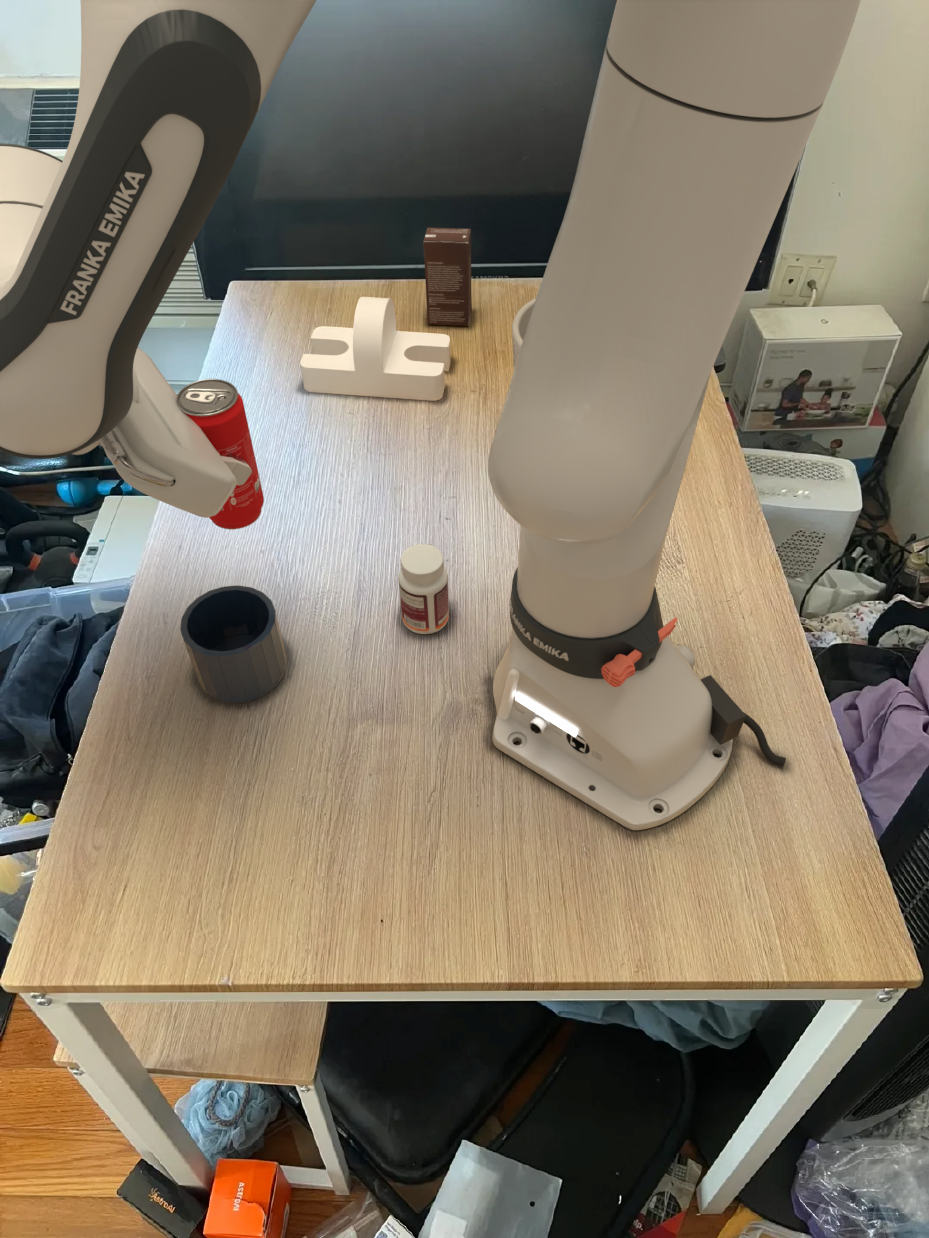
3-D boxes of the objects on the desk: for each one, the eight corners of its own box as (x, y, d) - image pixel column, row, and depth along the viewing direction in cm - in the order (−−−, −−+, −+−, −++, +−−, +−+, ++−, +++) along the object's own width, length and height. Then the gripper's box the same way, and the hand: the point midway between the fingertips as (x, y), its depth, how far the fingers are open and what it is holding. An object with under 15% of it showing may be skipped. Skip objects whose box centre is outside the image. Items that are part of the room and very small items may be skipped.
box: (471, 310, 129) (472, 227, 120) (468, 327, 126) (469, 243, 117) (429, 308, 129) (426, 225, 120) (425, 325, 126) (422, 241, 117)
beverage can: (253, 536, 77) (226, 420, 68) (196, 527, 78) (161, 412, 69) (274, 496, 81) (250, 381, 72) (219, 488, 81) (188, 373, 72)
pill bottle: (439, 594, 93) (437, 535, 87) (455, 627, 90) (455, 568, 84) (395, 607, 92) (389, 548, 86) (410, 641, 89) (406, 582, 83)
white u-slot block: (441, 401, 115) (439, 328, 107) (302, 391, 116) (290, 319, 109) (451, 358, 121) (450, 287, 113) (319, 349, 123) (309, 278, 115)
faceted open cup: (304, 669, 87) (293, 621, 82) (229, 718, 83) (213, 671, 78) (254, 620, 91) (241, 571, 86) (181, 665, 87) (162, 617, 82)
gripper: (143, 428, 57) (305, 492, 68) (51, 286, 69) (202, 360, 79) (94, 507, 59) (259, 557, 70) (13, 356, 70) (166, 419, 81)
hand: (228, 451), depth 75 cm, fingers closed on beverage can, 5 cm apart
